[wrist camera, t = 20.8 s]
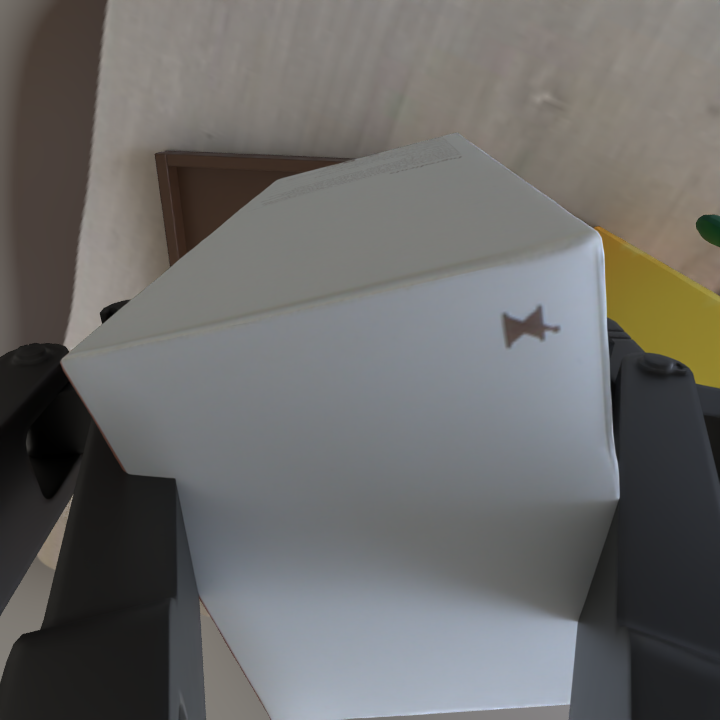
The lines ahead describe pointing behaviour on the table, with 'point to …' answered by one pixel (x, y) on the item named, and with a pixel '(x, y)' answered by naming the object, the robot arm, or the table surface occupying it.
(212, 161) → the tray
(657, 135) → the table surface
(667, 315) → the mottled yellow carton
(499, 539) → the small box
